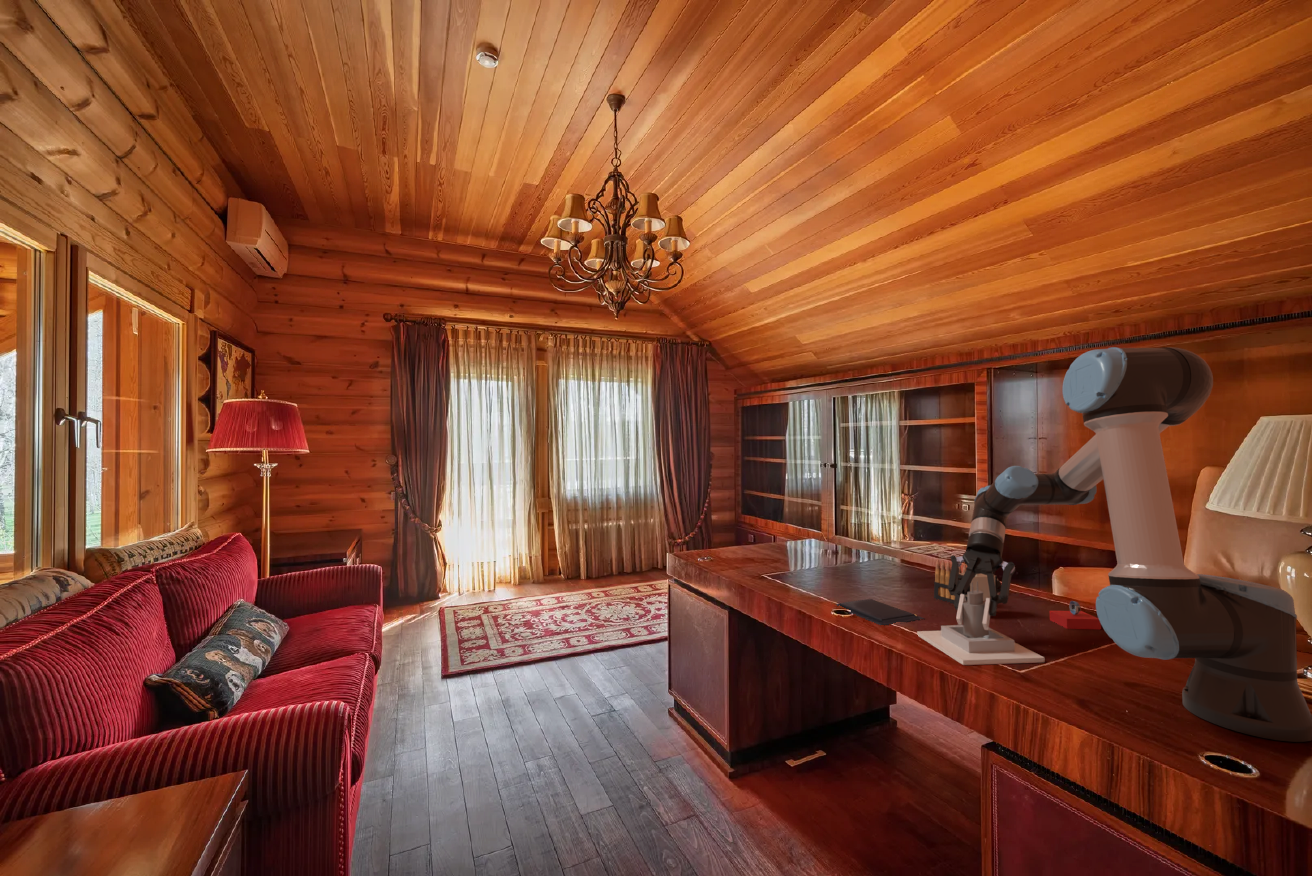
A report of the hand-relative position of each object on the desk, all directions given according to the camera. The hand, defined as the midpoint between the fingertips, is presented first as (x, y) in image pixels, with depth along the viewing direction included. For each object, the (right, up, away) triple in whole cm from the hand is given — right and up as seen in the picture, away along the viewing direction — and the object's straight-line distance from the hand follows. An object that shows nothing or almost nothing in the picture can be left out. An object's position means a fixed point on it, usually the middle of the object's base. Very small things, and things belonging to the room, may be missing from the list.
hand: (972, 624), depth 120 cm
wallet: (-9, -8, +30) cm, 32 cm away
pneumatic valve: (+17, -7, +27) cm, 33 cm away
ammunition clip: (+17, -7, +38) cm, 42 cm away
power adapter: (+3, -3, +3) cm, 5 cm away
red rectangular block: (+37, -7, +18) cm, 41 cm away
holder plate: (+3, -6, +3) cm, 7 cm away
